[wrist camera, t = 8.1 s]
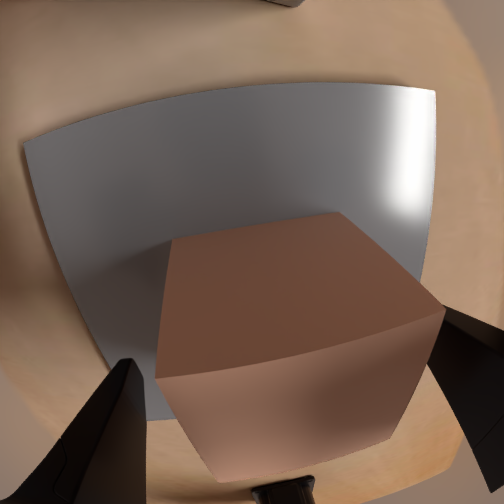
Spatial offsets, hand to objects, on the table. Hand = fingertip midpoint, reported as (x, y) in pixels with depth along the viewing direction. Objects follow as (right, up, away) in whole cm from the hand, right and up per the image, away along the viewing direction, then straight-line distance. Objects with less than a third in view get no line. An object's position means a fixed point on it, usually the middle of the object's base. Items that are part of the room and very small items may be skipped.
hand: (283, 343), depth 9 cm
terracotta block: (0, +1, +2) cm, 2 cm away
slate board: (-1, +2, +3) cm, 4 cm away
